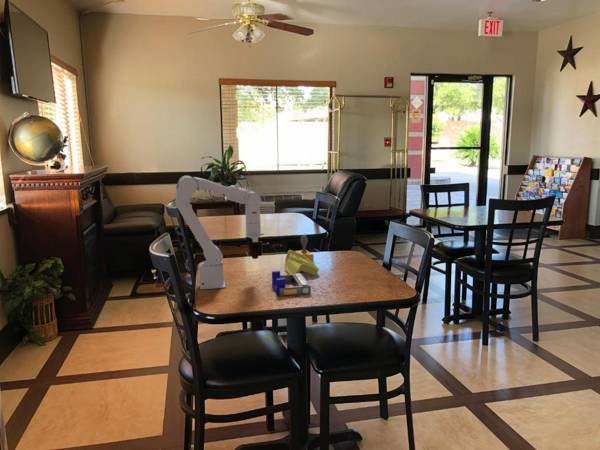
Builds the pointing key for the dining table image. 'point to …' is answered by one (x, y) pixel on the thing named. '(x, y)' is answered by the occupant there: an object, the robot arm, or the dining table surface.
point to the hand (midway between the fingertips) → (254, 256)
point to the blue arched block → (277, 281)
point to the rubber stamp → (304, 251)
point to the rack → (299, 283)
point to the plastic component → (299, 264)
